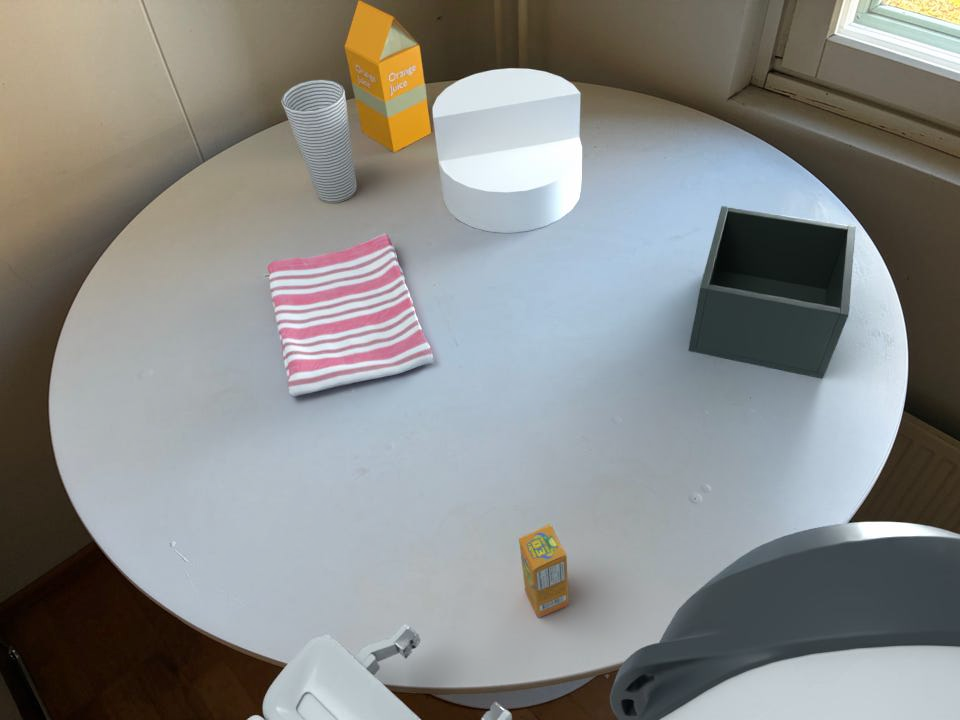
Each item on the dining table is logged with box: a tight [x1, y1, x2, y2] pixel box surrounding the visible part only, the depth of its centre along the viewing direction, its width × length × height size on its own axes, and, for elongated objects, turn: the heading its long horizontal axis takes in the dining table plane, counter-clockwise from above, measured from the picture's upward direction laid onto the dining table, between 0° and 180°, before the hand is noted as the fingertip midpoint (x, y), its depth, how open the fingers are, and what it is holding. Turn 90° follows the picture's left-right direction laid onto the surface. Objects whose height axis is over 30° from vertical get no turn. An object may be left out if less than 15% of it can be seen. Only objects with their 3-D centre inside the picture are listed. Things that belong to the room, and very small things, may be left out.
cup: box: [281, 78, 358, 204], centre depth 108 cm, size 8×8×16 cm
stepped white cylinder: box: [432, 67, 583, 234], centre depth 106 cm, size 20×20×13 cm
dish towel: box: [267, 232, 434, 397], centre depth 94 cm, size 17×23×4 cm
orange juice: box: [344, 0, 432, 153], centre depth 116 cm, size 8×9×20 cm
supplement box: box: [518, 523, 570, 619], centre depth 65 cm, size 3×3×10 cm
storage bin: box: [687, 205, 857, 379], centre depth 87 cm, size 15×15×10 cm
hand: (457, 669), depth 59 cm, fingers open, 8 cm apart
